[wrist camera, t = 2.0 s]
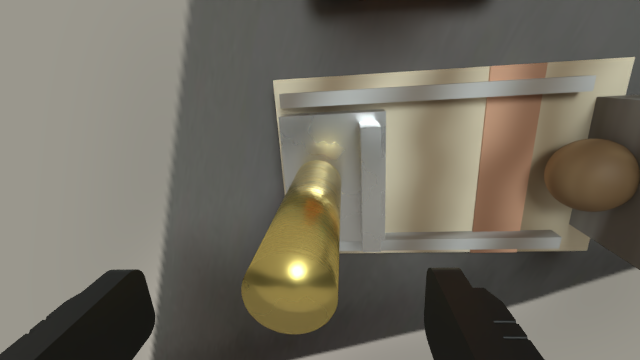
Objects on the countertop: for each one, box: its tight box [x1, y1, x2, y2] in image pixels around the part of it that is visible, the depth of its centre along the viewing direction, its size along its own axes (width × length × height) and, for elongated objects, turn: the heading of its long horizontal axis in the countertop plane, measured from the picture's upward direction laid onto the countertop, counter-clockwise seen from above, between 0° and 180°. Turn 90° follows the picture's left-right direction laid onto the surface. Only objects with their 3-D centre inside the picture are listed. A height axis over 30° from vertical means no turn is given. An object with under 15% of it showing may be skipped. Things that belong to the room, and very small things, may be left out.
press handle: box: [241, 109, 386, 334], centre depth 14 cm, size 6×8×12 cm
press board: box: [273, 57, 640, 270], centre depth 17 cm, size 20×12×8 cm, turn 94°
